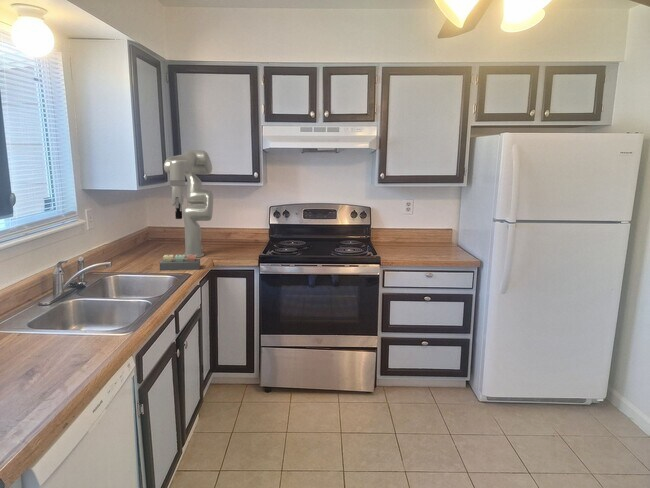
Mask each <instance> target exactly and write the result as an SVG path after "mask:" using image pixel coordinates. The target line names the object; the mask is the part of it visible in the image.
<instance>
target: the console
mask: <svg viewBox="0 0 650 488" xmlns="http://www.w3.org/2000/svg"><path fill="white" fill-rule="evenodd" d="M200 267H201V258H196V259H195V261H192V262H189V260H188V259H187V258H185V259H184V262H177V259H175V258H173V259H172V262H165V259H161V260H160V262H159V271H160V272H161V271H195V270H200Z"/></svg>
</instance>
